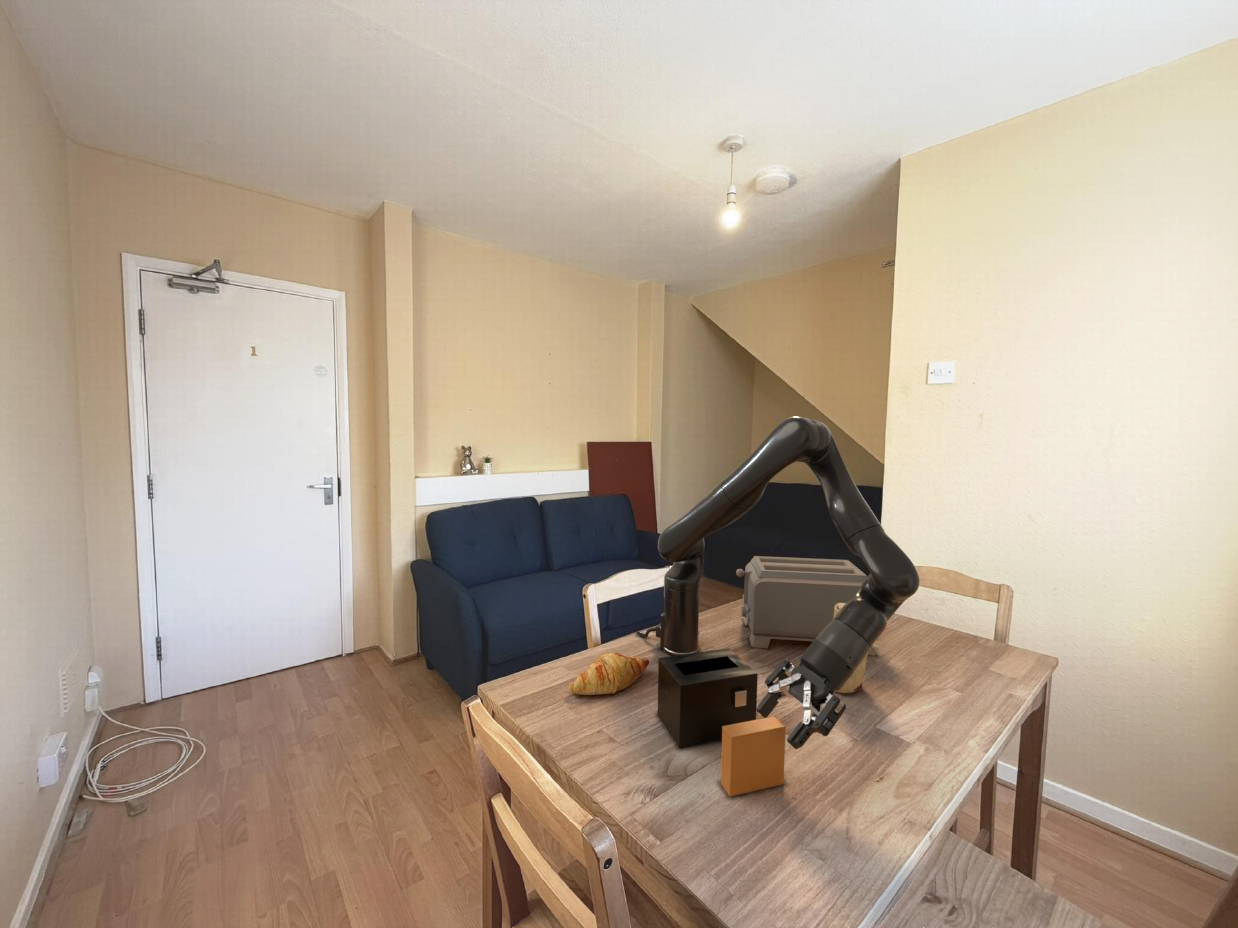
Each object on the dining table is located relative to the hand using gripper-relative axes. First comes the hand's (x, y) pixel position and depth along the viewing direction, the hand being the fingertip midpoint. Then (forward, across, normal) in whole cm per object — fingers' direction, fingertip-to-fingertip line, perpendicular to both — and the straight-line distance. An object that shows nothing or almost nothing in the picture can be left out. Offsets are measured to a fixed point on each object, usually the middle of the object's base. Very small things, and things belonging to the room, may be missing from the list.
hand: (775, 728), depth 81 cm
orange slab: (+9, 0, +3) cm, 10 cm away
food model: (-17, -20, +30) cm, 39 cm away
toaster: (-22, -47, +34) cm, 62 cm away
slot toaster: (+9, -17, +3) cm, 20 cm away
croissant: (+19, -37, -6) cm, 42 cm away
